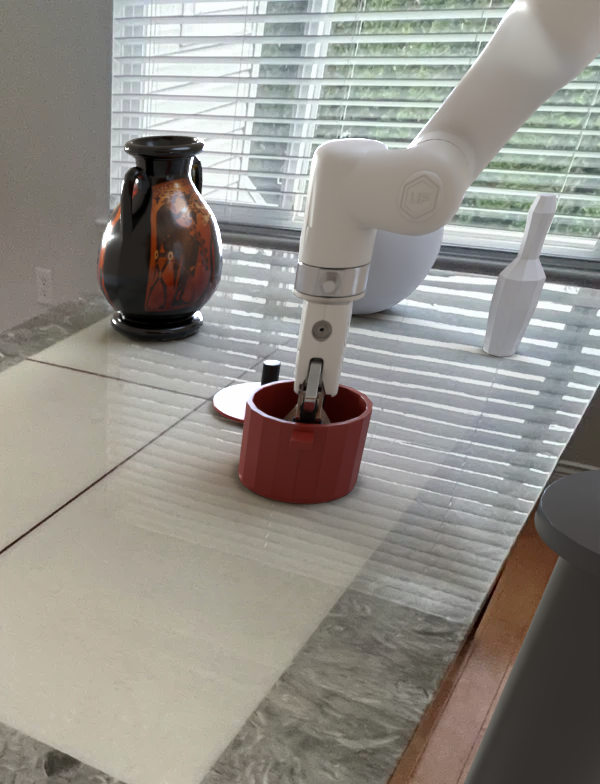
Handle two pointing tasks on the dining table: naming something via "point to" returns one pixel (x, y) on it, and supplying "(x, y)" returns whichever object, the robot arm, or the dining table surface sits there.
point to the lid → (243, 393)
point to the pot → (397, 268)
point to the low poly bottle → (520, 283)
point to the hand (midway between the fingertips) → (304, 437)
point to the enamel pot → (302, 445)
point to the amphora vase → (160, 243)
